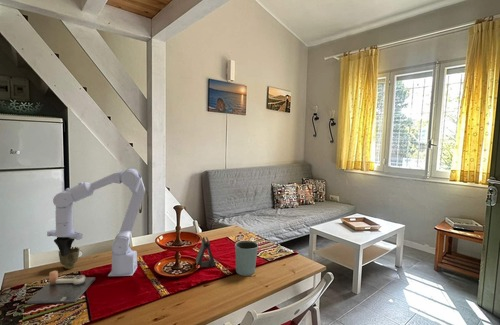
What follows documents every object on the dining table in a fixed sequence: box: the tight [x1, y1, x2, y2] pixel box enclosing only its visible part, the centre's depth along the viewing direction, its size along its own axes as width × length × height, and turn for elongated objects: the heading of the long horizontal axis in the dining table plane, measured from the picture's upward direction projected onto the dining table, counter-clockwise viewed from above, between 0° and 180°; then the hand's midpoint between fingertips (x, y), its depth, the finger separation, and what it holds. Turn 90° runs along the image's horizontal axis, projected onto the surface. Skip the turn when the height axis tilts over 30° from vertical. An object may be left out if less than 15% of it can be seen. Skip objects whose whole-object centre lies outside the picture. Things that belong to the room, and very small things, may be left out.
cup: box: [57, 246, 80, 270], centre depth 114 cm, size 8×7×8 cm
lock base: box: [26, 276, 96, 305], centre depth 97 cm, size 16×16×1 cm
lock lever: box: [48, 270, 86, 285], centre depth 100 cm, size 4×12×4 cm, turn 96°
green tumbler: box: [234, 240, 259, 276], centre depth 117 cm, size 10×10×12 cm
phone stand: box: [195, 236, 217, 269], centre depth 122 cm, size 9×6×12 cm, turn 107°
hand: (64, 255), depth 105 cm, fingers closed
